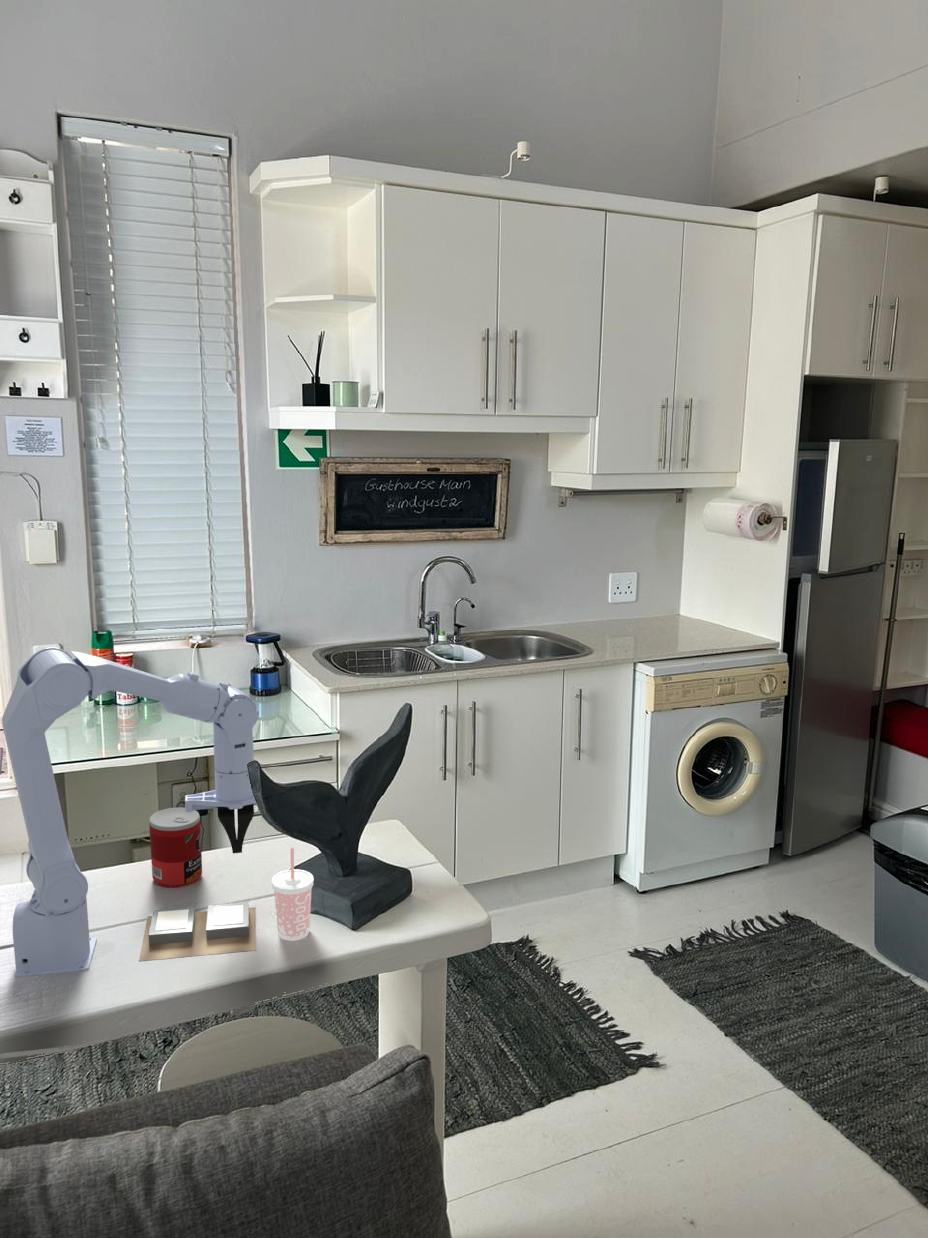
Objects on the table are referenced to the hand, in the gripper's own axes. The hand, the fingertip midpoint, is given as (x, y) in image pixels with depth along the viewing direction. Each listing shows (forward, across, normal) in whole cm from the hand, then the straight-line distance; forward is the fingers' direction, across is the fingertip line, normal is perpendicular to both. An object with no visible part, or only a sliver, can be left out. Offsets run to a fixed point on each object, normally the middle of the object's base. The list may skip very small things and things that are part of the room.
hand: (237, 850), depth 148 cm
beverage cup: (+10, +8, -9) cm, 16 cm away
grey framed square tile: (+9, -10, -8) cm, 16 cm away
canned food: (+10, -10, +12) cm, 18 cm away
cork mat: (+10, -6, -6) cm, 13 cm away
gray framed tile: (+9, -2, -9) cm, 12 cm away
